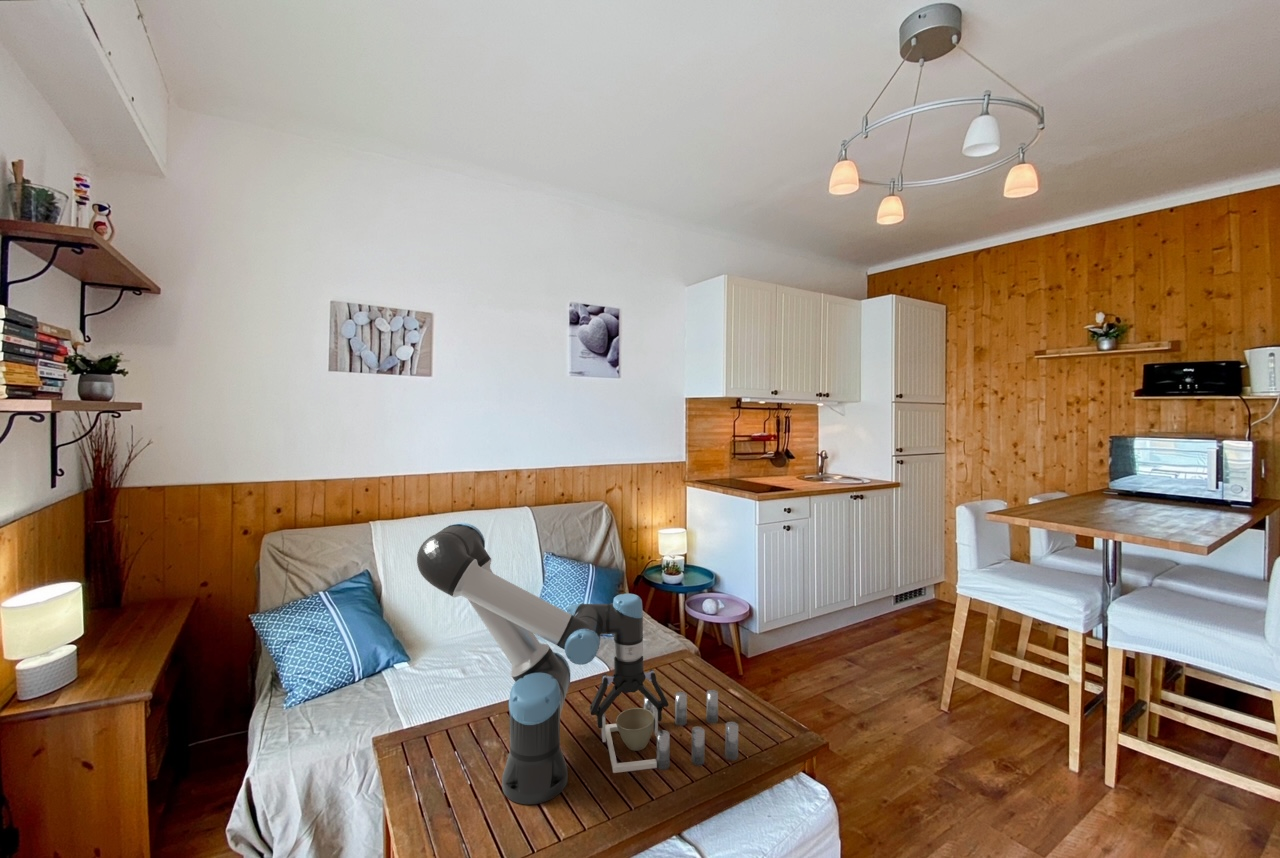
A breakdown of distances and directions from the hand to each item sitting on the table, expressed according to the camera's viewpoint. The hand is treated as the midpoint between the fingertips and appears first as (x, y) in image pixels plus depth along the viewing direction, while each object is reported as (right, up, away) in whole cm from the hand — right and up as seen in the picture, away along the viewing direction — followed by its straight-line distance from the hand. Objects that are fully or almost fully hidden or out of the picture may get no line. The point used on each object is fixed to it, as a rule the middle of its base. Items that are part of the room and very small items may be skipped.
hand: (629, 736), depth 141 cm
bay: (0, -3, 0) cm, 3 cm away
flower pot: (+2, -3, +1) cm, 4 cm away
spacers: (+16, -3, +3) cm, 16 cm away
